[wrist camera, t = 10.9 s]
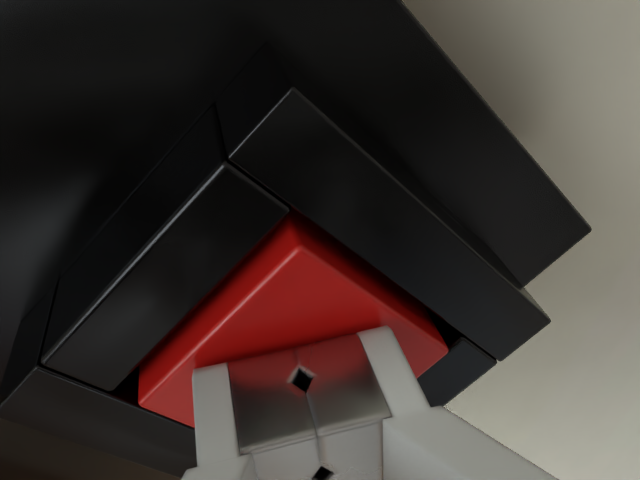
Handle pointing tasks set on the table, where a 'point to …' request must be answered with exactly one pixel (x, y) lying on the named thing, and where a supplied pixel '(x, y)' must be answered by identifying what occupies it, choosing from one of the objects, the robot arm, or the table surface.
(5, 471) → the dial panel
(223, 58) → the red push button box
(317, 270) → the button
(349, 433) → the robot arm
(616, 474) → the table surface
